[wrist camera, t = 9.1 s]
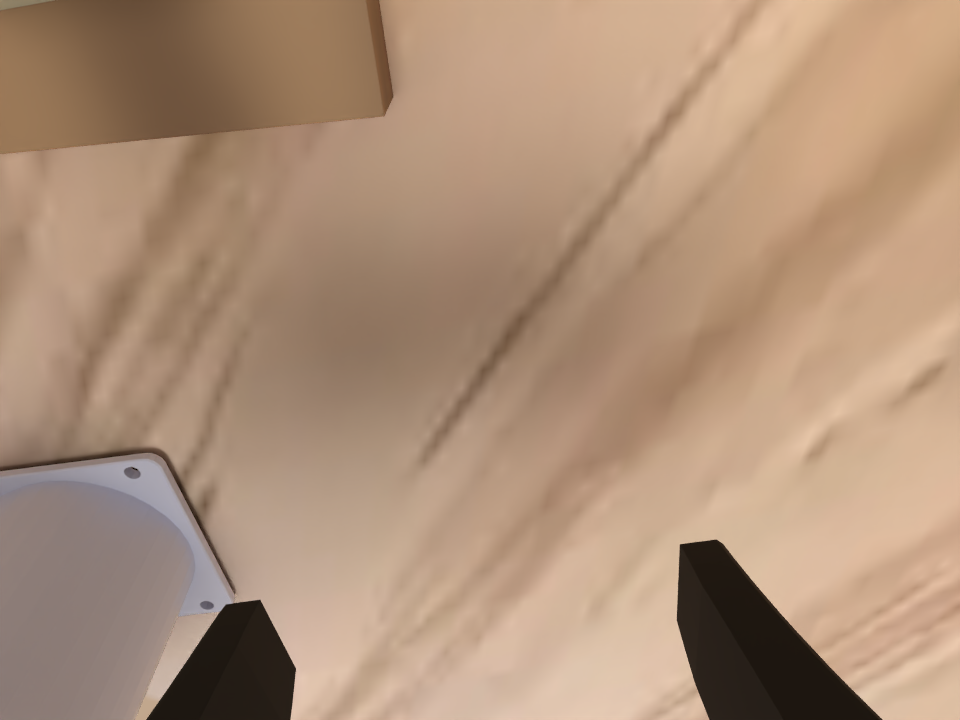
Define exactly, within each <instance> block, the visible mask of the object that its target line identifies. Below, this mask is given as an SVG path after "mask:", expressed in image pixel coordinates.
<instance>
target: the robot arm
mask: <svg viewBox="0 0 960 720" xmlns="http://www.w3.org/2000/svg"><path fill="white" fill-rule="evenodd" d="M131 467H134V468H136V469H138V470H139V471H136V470H134V469H132V468H131ZM234 600H235V595H234V593H233V591H232V589H231V587H230V585H229V583H228V581H227V580H226V578H225V576H224V574H223V572H222V570H221V568H220V566H219V564H218V562H217V560H216V558H215V556H214V554H213V553H212V551H211V549H210V547H209V545H208V543H207V541H206V539H205V537H204V535H203V533H202V531H201V529H200V527H199V526H198V524H197V522H196V520H195V518H194V516H193V514H192V512H191V510H190V508H189V506H188V504H187V502H186V501H185V499H184V497H183V495H182V493H181V491H180V489H179V487H178V485H177V483H176V481H175V479H174V477H173V475H172V474H171V472H170V470H169V468H168V466H167V464H166V462H165V461H164V460H163V458H161V457H160V456H158V455H156V454H153V453H140V454H132V455H124V456H117V457H109V458H101V459H93V460H85V461H77V462H69V463H61V464H54V465H46V466H38V467H30V468H22V469H14V470H6V471H0V720H135V718H136V716H137V714H138V711H139V709H140V706H141V704H142V702H143V699H144V697H145V694H146V692H147V690H148V687H149V685H150V682H151V680H152V677H153V675H154V673H155V670H156V668H157V665H158V663H159V661H160V658H161V656H162V653H163V651H164V649H165V646H166V644H167V641H168V639H169V636H170V634H171V632H172V629H173V627H174V624H175V622H176V620H177V617H178V616H186V615H194V614H202V613H211V612H219V611H220V613H219V614H218V616H217V617H216V619H215V620H214V622H213V623H212V624H211V626H210V627H209V629H208V630H207V632H206V633H205V635H204V636H203V638H202V639H201V641H200V642H199V644H198V645H197V647H196V648H195V650H194V651H193V653H192V654H191V656H190V657H189V659H188V660H187V662H186V663H185V665H184V666H183V668H182V669H181V670H180V672H179V673H178V675H177V676H176V678H175V679H174V681H173V682H172V684H171V685H170V687H169V688H168V690H167V691H166V692H165V694H164V695H163V697H162V698H161V700H160V701H159V702H158V704H157V705H156V707H155V708H154V709H153V711H152V712H151V714H150V715H149V717H148V718H147V719H146V720H290V718H291V710H292V702H293V692H294V682H295V672H296V668H295V666H294V664H293V662H292V660H291V658H290V657H289V655H288V653H287V651H286V649H285V647H284V645H283V643H282V641H281V639H280V637H279V635H278V633H277V631H276V629H275V628H274V626H273V624H272V622H271V620H270V618H269V616H268V614H267V612H266V610H265V608H264V606H263V604H262V602H261V600H255V601H248V602H240V603H234ZM677 622H678V626H679V629H680V633H681V636H682V640H683V644H684V647H685V651H686V654H687V657H688V661H689V664H690V668H691V671H692V674H693V678H694V681H695V684H696V686H697V689H698V692H699V694H700V697H701V699H702V702H703V704H704V707H705V709H706V712H707V714H708V717H709V719H710V720H882V719H881V718H880V717H879V716H878V715H877V714H876V713H875V712H874V711H873V710H872V709H871V708H870V707H869V706H868V705H867V704H866V703H865V702H864V701H863V700H862V699H861V698H860V697H859V696H858V695H857V694H856V693H855V692H854V691H853V690H852V689H851V688H850V687H849V686H848V685H847V684H846V683H845V682H844V681H843V680H842V679H841V678H840V677H839V676H838V675H837V674H836V673H835V672H834V671H833V670H832V669H831V668H830V667H829V666H828V665H827V664H826V663H825V661H824V660H823V659H822V658H821V657H820V656H819V655H818V654H817V653H816V652H815V651H814V650H813V649H812V648H811V646H810V645H809V644H808V643H807V642H806V641H805V640H804V639H803V638H802V637H801V636H800V635H799V634H798V633H797V631H796V630H795V629H794V628H793V627H792V626H791V625H790V624H789V623H788V622H787V620H786V619H785V618H784V617H783V616H782V615H781V614H780V613H779V611H778V610H777V609H776V608H775V607H774V606H773V604H772V603H771V602H770V601H769V600H768V599H767V598H766V596H765V595H764V594H763V593H762V592H761V591H760V589H759V588H758V587H757V586H756V585H755V583H754V582H753V581H752V580H751V579H750V577H749V576H748V575H747V574H746V573H745V571H744V570H743V569H742V568H741V566H740V565H739V564H738V563H737V561H736V560H735V559H734V558H733V556H732V555H731V554H730V553H729V551H728V550H727V549H726V547H725V546H724V545H723V544H722V543H721V542H719V541H718V540H710V541H702V542H694V543H687V544H680V556H679V580H678V605H677Z"/></svg>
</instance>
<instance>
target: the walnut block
mask: <svg viewBox="0 0 960 720" xmlns="http://www.w3.org/2000/svg"><path fill="white" fill-rule="evenodd" d="M392 98H393V91H392V85H391V78H390V71H389V65H388V58H387V51H386V44H385V38H384V31H383V24H382V18H381V11H380V4H379V0H54V1H48V2H43V3H38V4H32V5H27V6H21V7H16V8H11V9H5V10H0V154H6V153H16V152H26V151H36V150H47V149H57V148H67V147H77V146H87V145H97V144H108V143H118V142H128V141H138V140H148V139H158V138H169V137H179V136H189V135H199V134H209V133H219V132H229V131H240V130H250V129H260V128H270V127H280V126H290V125H301V124H311V123H321V122H331V121H341V120H351V119H362V118H372V117H382V116H384V115H385V113H386V111H387V109H388V107H389V105H390V103H391V100H392Z"/></svg>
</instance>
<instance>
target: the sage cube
mask: <svg viewBox="0 0 960 720" xmlns="http://www.w3.org/2000/svg"><path fill="white" fill-rule="evenodd" d="M48 1H54V0H0V10H5V9H11V8H16V7H21V6H27V5H32V4H38V3H43V2H48Z"/></svg>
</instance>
